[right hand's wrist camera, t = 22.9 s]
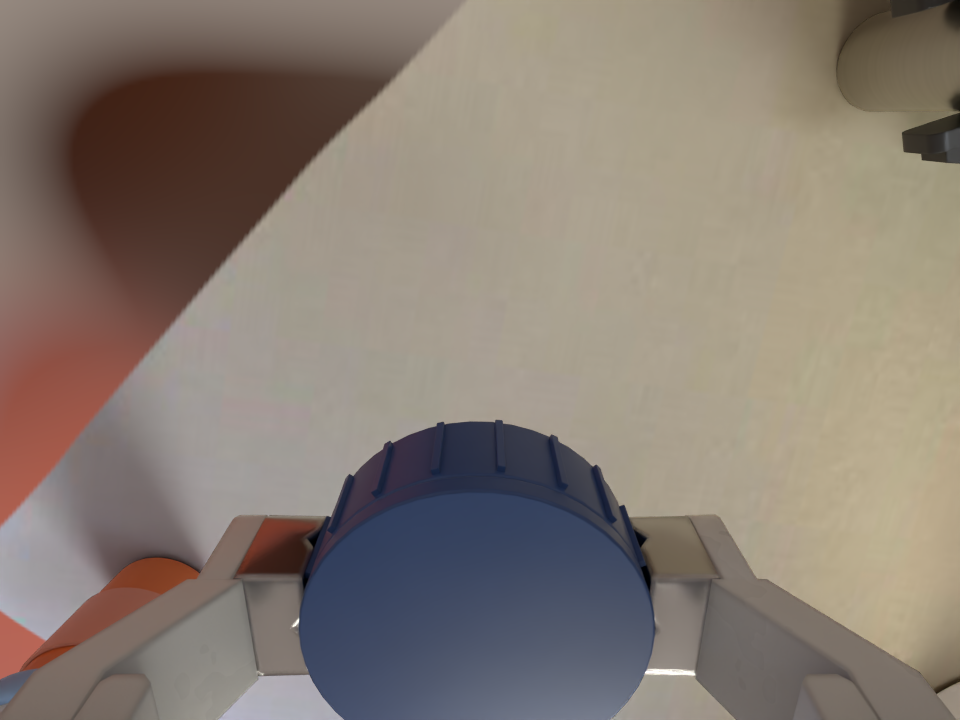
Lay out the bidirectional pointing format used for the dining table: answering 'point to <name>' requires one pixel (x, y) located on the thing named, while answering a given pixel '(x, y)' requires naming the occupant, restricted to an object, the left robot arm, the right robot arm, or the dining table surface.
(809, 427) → the dining table surface
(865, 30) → the silver metal cylinder
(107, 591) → the cup with straw
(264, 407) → the dining table surface
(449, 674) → the lid
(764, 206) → the dining table surface
